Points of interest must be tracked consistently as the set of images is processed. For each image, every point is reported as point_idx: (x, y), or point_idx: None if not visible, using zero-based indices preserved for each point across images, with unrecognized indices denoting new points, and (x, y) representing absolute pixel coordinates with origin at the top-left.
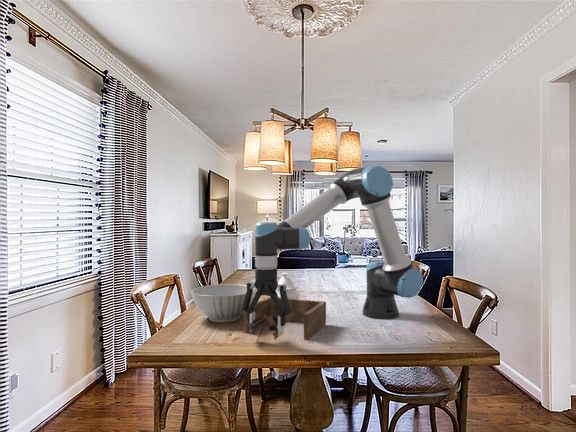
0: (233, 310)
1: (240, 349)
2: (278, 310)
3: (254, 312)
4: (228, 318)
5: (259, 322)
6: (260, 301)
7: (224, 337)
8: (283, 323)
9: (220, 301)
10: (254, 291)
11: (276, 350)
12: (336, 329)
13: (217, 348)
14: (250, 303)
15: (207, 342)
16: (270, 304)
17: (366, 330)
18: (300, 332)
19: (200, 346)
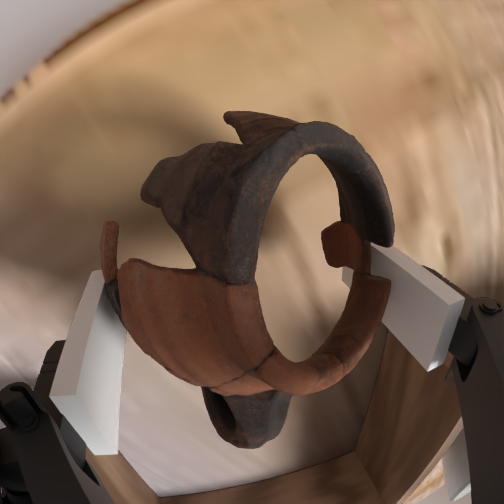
0: None
1: (300, 43)
2: (59, 470)
3: (430, 360)
4: None
5: (251, 157)
6: (419, 481)
7: (457, 199)
8: (47, 357)
9: None
10: (456, 493)
11: (66, 146)
12: None
13: (414, 29)
14: (446, 452)
15: (480, 103)
16: (377, 493)
17: None
18: (163, 439)
19: (475, 44)
